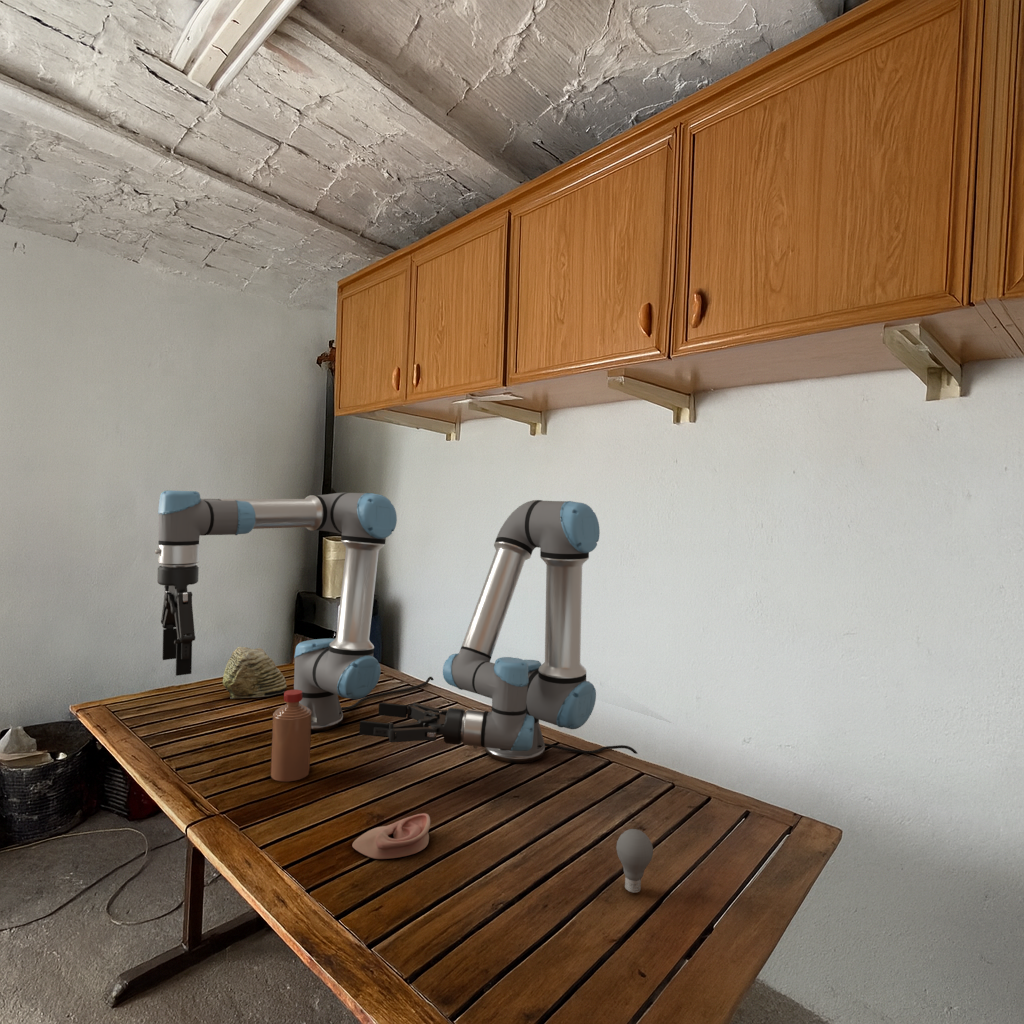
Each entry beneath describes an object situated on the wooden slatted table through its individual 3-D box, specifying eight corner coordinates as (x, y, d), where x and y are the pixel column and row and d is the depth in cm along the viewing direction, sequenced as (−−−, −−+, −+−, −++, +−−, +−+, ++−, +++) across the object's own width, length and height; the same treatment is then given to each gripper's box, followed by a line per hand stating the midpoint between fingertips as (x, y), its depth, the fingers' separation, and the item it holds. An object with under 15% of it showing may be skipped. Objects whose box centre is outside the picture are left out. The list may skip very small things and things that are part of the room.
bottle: (271, 783, 139) (274, 701, 138) (269, 768, 146) (272, 689, 146) (311, 778, 142) (314, 697, 142) (307, 763, 150) (310, 687, 149)
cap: (284, 703, 141) (284, 695, 141) (283, 697, 145) (283, 690, 145) (303, 701, 143) (303, 693, 143) (301, 696, 146) (301, 688, 146)
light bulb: (610, 879, 108) (613, 822, 108) (644, 879, 109) (647, 822, 109) (619, 902, 102) (622, 840, 102) (655, 901, 103) (658, 840, 103)
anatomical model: (345, 832, 112) (372, 802, 124) (344, 854, 113) (371, 822, 124) (415, 843, 110) (436, 812, 121) (414, 866, 110) (436, 832, 121)
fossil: (218, 695, 195) (220, 647, 195) (278, 685, 208) (279, 640, 207) (228, 703, 189) (230, 653, 188) (289, 692, 201) (290, 645, 201)
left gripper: (147, 559, 139) (145, 655, 139) (170, 573, 119) (168, 684, 120) (185, 558, 143) (183, 651, 144) (213, 571, 124) (210, 678, 125)
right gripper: (452, 765, 127) (349, 754, 129) (471, 726, 152) (385, 717, 154) (454, 728, 127) (352, 718, 129) (473, 694, 152) (387, 686, 154)
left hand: (176, 666), depth 132 cm, fingers open, 13 cm apart
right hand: (369, 717), depth 141 cm, fingers open, 13 cm apart
